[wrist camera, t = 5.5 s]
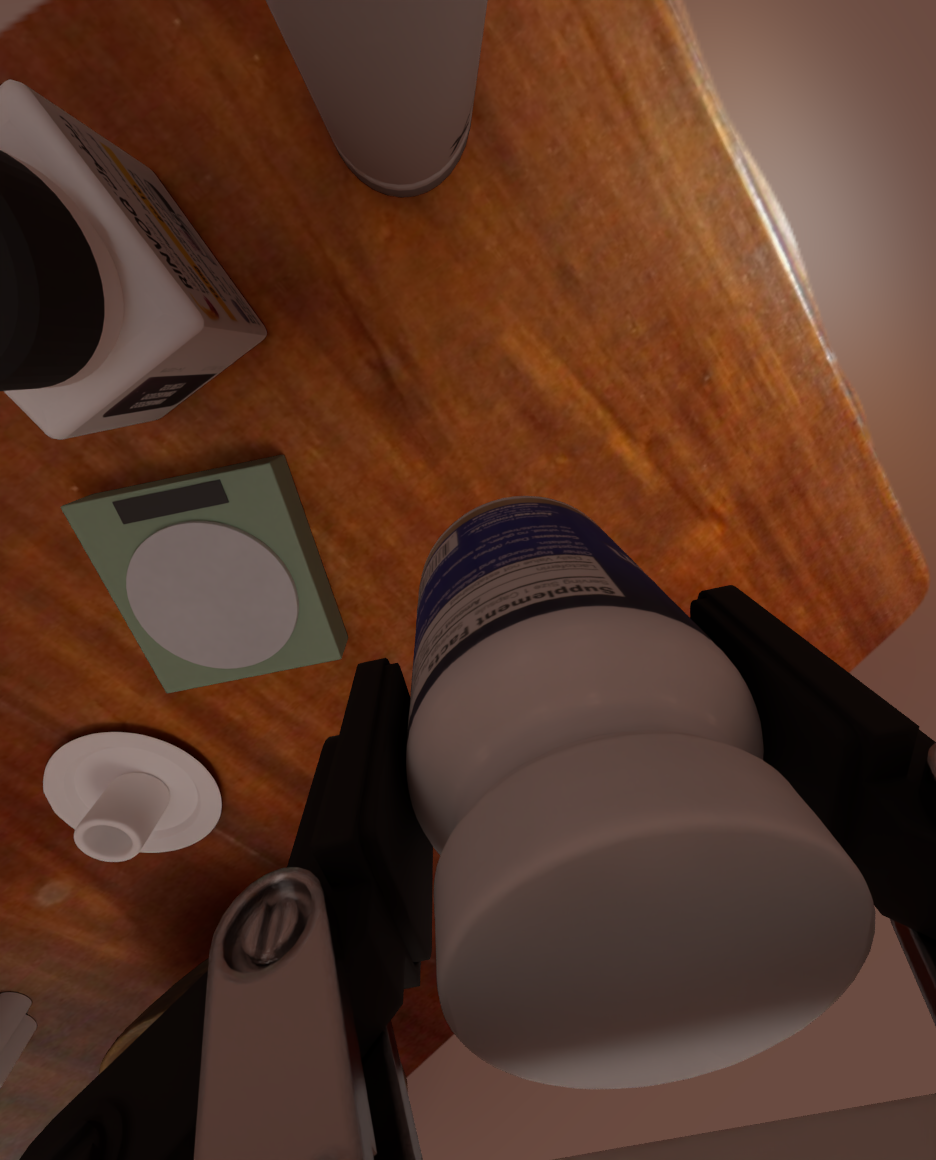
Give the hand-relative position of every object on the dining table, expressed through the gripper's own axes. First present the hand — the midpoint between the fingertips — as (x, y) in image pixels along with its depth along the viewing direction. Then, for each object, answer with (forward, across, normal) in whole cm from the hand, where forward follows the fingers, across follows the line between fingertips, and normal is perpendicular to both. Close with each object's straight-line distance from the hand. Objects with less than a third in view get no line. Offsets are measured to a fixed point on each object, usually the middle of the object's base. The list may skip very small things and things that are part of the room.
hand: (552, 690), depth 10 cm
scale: (+20, +16, +2) cm, 25 cm away
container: (+20, +14, -11) cm, 26 cm away
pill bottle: (+5, 0, 0) cm, 5 cm away
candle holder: (+20, +29, +17) cm, 39 cm away
